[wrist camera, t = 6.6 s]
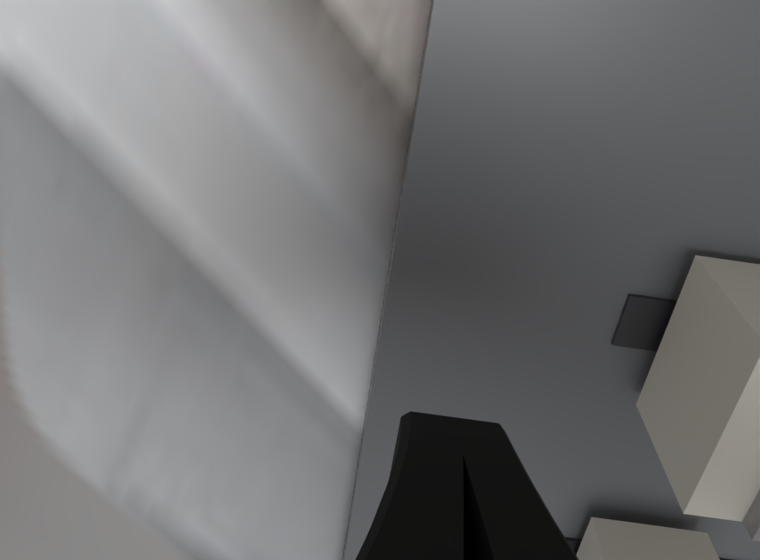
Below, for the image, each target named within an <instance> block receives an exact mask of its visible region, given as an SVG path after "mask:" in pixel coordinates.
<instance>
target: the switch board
mask: <svg viewBox="0 0 760 560" xmlns="http://www.w3.org/2000/svg"><path fill="white" fill-rule="evenodd" d="M695 255H698V256H705V257H712V258H719V259H726V260H733V261H740V262H747V263H754V264H760V0H432V1H431V7H430V13H429V20H428V26H427V32H426V38H425V45H424V51H423V57H422V64H421V70H420V76H419V82H418V89H417V95H416V101H415V108H414V114H413V120H412V126H411V133H410V139H409V145H408V152H407V158H406V164H405V170H404V177H403V183H402V189H401V196H400V202H399V208H398V214H397V221H396V227H395V233H394V240H393V246H392V252H391V258H390V265H389V271H388V277H387V283H386V290H385V296H384V302H383V309H382V315H381V321H380V327H379V334H378V340H377V346H376V353H375V359H374V365H373V371H372V378H371V384H370V390H369V397H368V403H367V409H366V415H365V422H364V428H363V434H362V441H361V447H360V453H359V459H358V466H357V472H356V478H355V485H354V491H353V497H352V503H351V510H350V516H349V522H348V529H347V535H346V541H345V547H344V554H343V560H355V559H356V557H357V555H358V553H359V551H360V549H361V547H362V545H363V543H364V541H365V538H366V536H367V534H368V532H369V529H370V527H371V525H372V522H373V520H374V517H375V515H376V512H377V509H378V507H379V504H380V502H381V499H382V497H383V494H384V491H385V489H386V486H387V484H388V480H389V476H390V471H391V466H392V460H393V455H394V450H395V445H396V440H397V434H398V429H399V424H400V419H401V416H403V415H405V414H406V413H408V412H410V411H413V412H420V413H428V414H435V415H442V416H450V417H457V418H465V419H472V420H479V421H487V422H494V423H499V424H500V425H501V426H502V428H503V429H504V430H505V432H506V434H507V436H508V438H509V440H510V442H511V444H512V446H513V447H514V449H515V451H516V453H517V455H518V457H519V459H520V461H521V462H522V464H523V466H524V468H525V470H526V472H527V473H528V475H529V477H530V479H531V481H532V482H533V484H534V486H535V488H536V490H537V491H538V493H539V495H540V497H541V498H542V500H543V502H544V504H545V505H546V507H547V509H548V510H549V512H550V514H551V515H552V517H553V519H554V521H555V522H556V524H557V526H558V527H559V529H560V530H561V532H562V534H563V535H564V537H565V538H566V540H567V542H568V543H569V545H570V546H571V548H572V550H573V551H574V553H575V554H577V552H578V549H579V547H580V544H581V542H582V539H583V537H584V534H585V532H586V529H587V527H588V524H589V522H590V519H591V517H595V518H603V519H610V520H617V521H625V522H632V523H640V524H647V525H654V526H662V527H669V528H677V529H684V530H691V531H699V532H706V533H708V535H709V537H710V540H711V542H712V544H713V546H714V548H715V550H716V553H717V555H718V557H719V559H720V560H760V541H754V540H752V539H751V537H750V536H749V534H748V532H747V530H746V528H745V526H744V524H743V522H741V521H733V520H726V519H718V518H711V517H704V516H696V515H689V514H683V512H682V509H681V507H680V505H679V502H678V500H677V498H676V495H675V493H674V491H673V489H672V486H671V484H670V482H669V479H668V477H667V475H666V472H665V470H664V468H663V466H662V463H661V461H660V459H659V456H658V454H657V452H656V450H655V447H654V445H653V443H652V440H651V438H650V436H649V433H648V431H647V429H646V427H645V424H644V422H643V420H642V417H641V415H640V413H639V410H638V408H637V406H636V403H637V401H638V398H639V396H640V393H641V391H642V388H643V386H644V383H645V381H646V378H647V376H648V373H649V371H650V368H651V366H652V363H653V361H654V358H655V356H656V353H657V351H658V348H659V346H660V343H661V341H662V338H663V336H664V333H665V331H666V328H667V326H668V323H669V321H670V318H671V315H672V313H673V310H674V308H675V305H676V303H677V300H678V298H679V295H680V293H681V290H682V288H683V285H684V283H685V280H686V278H687V275H688V273H689V270H690V268H691V265H692V263H693V260H694V258H695Z"/></svg>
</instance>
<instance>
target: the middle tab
mask: <svg viewBox="0 0 760 560" xmlns="http://www.w3.org/2000/svg"><path fill="white" fill-rule="evenodd" d="M636 406H637V408H638V410H639V413H640V415H641V417H642V420H643V422H644V424H645V427H646V429H647V431H648V433H649V436H650V438H651V440H652V443H653V445H654V447H655V450H656V452H657V454H658V456H659V459H660V461H661V463H662V466H663V468H664V470H665V472H666V475H667V477H668V479H669V482H670V484H671V486H672V489H673V491H674V493H675V495H676V498H677V500H678V502H679V505H680V507H681V509H682V512H683V514H689V515H696V516H704V517H711V518H718V519H726V520H733V521H741V522H743V524H744V526H745V528H746V530H747V532H748V534H749V536H750V537H751V539H752V540H754V541H760V264H754V263H747V262H740V261H733V260H726V259H719V258H712V257H705V256H698V255H695V258H694V260H693V263H692V265H691V268H690V270H689V273H688V275H687V278H686V280H685V283H684V285H683V288H682V290H681V293H680V295H679V298H678V300H677V303H676V305H675V308H674V310H673V313H672V315H671V318H670V321H669V323H668V326H667V328H666V331H665V333H664V336H663V338H662V341H661V343H660V346H659V348H658V351H657V353H656V356H655V358H654V361H653V363H652V366H651V368H650V371H649V373H648V376H647V378H646V381H645V383H644V386H643V388H642V391H641V393H640V396H639V398H638V401H637V403H636Z"/></svg>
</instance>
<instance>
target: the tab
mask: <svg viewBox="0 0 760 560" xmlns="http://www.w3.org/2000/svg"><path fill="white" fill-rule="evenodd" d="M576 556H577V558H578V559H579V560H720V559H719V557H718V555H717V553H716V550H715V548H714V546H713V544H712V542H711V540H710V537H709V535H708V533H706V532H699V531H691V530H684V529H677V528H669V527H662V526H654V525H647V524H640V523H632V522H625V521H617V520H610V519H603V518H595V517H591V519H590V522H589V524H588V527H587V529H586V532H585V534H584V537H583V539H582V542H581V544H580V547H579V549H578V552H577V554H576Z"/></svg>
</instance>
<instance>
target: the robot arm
mask: <svg viewBox="0 0 760 560" xmlns="http://www.w3.org/2000/svg"><path fill="white" fill-rule="evenodd" d="M355 560H579V559H578V558H577V556H576V554H575V553H574V551H573V550H572V548H571V546H570V545H569V543H568V542H567V540H566V538H565V537H564V535H563V534H562V532H561V530H560V529H559V527H558V526H557V524H556V522H555V521H554V519H553V517H552V515H551V514H550V512H549V510H548V509H547V507H546V505H545V504H544V502H543V500H542V498H541V497H540V495H539V493H538V491H537V490H536V488H535V486H534V484H533V482H532V481H531V479H530V477H529V475H528V473H527V472H526V470H525V468H524V466H523V464H522V462H521V461H520V459H519V457H518V455H517V453H516V451H515V449H514V447H513V446H512V444H511V442H510V440H509V438H508V436H507V434H506V432H505V430H504V429H503V428H502V426H501V425H500V424H499V423H494V422H487V421H479V420H472V419H465V418H457V417H450V416H442V415H435V414H428V413H420V412H413V411H410V412H408V413H406V414H405V415H403V416H401V419H400V424H399V429H398V434H397V440H396V445H395V450H394V455H393V460H392V466H391V471H390V476H389V480H388V484H387V486H386V489H385V491H384V494H383V497H382V499H381V502H380V504H379V507H378V509H377V512H376V515H375V517H374V520H373V522H372V525H371V527H370V529H369V532H368V534H367V536H366V538H365V541H364V543H363V545H362V547H361V549H360V551H359V553H358V555H357V557H356V559H355Z"/></svg>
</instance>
